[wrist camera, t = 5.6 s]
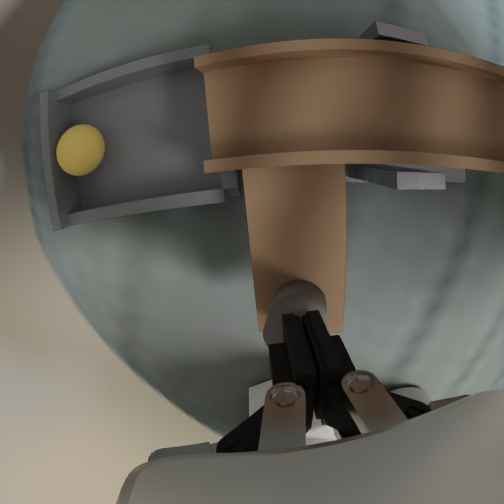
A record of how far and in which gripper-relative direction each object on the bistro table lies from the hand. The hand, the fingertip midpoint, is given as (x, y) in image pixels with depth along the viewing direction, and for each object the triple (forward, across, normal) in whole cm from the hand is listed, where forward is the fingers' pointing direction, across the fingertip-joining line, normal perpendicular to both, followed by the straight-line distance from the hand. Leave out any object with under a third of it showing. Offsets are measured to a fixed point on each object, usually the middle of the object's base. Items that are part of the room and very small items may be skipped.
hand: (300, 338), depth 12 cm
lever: (+2, -7, -6) cm, 9 cm away
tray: (+8, +9, -10) cm, 16 cm away
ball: (+6, +12, -10) cm, 17 cm away
